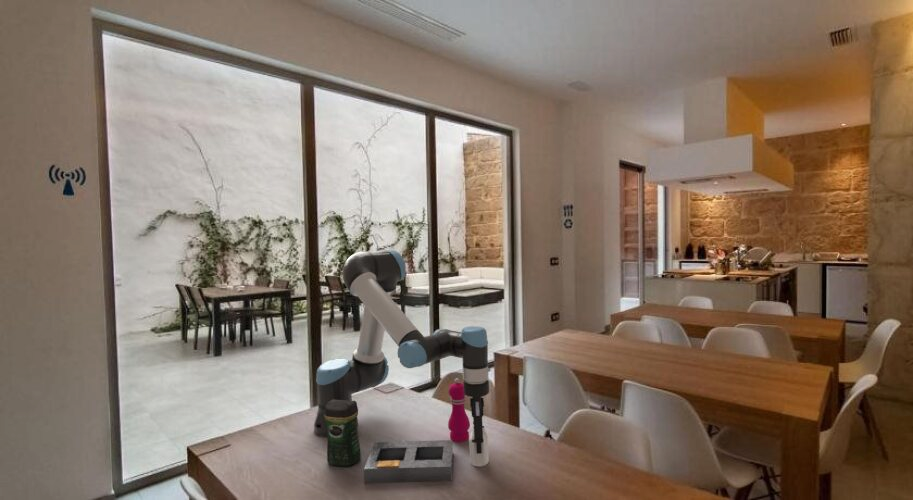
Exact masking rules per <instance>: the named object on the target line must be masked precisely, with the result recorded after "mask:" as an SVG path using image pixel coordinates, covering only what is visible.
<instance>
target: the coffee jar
mask: <svg viewBox="0 0 913 500" xmlns="http://www.w3.org/2000/svg"><path fill="white" fill-rule="evenodd" d="M358 415H359V408H358V402H357V401H356V400H352V401H346V400H335V399H333V400H331V401H330V402H328V403H327V404H326V406H325V419H326V422H327V430H328V437H327V447H326V449H327V450H326V460H327V461H326V462H327V463H328V464H329V465H331V466H336V467H350V466H353V465H355V464H356V463H358V461H359V460H360V458H361V456H362V455H361V453H362V452H361V445H360V439H359V432H358V427H357V418H358Z"/></svg>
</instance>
